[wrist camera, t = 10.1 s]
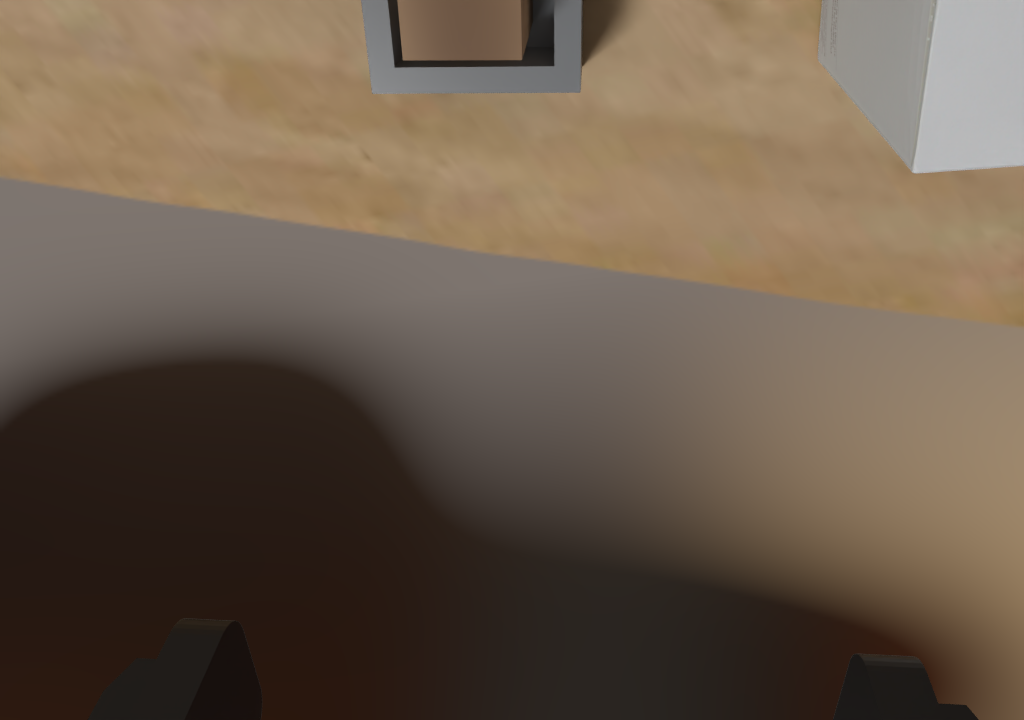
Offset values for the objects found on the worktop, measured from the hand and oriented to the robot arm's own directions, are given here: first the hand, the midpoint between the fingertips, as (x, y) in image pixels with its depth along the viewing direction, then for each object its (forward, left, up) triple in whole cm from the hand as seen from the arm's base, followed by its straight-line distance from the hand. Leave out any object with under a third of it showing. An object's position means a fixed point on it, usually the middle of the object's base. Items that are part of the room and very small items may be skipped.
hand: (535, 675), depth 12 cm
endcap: (+4, -3, -30) cm, 30 cm away
